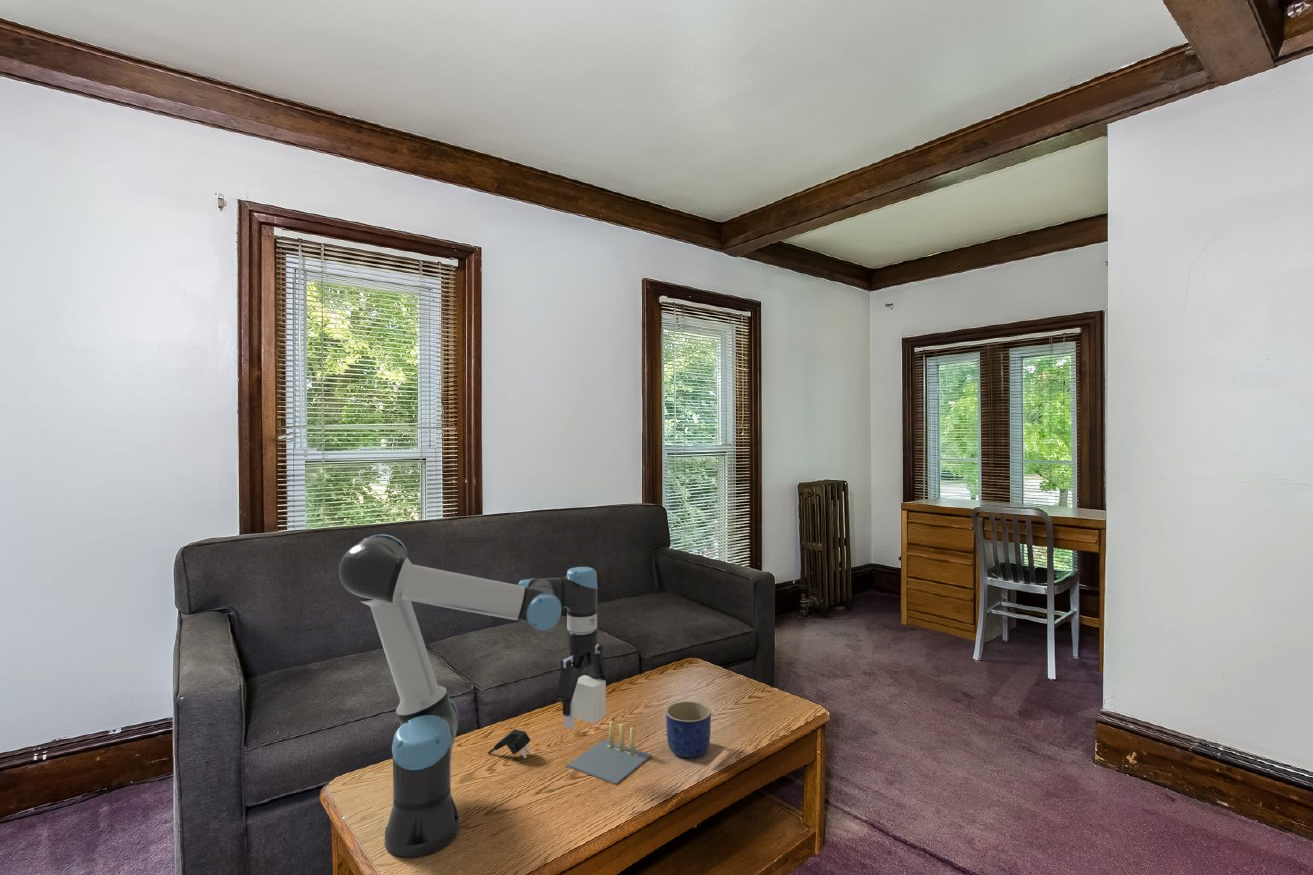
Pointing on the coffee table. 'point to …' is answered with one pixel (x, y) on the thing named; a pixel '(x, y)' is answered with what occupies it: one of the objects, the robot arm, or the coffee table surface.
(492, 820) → the coffee table surface
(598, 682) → the block
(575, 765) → the board
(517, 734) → the power plug
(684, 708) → the planter
